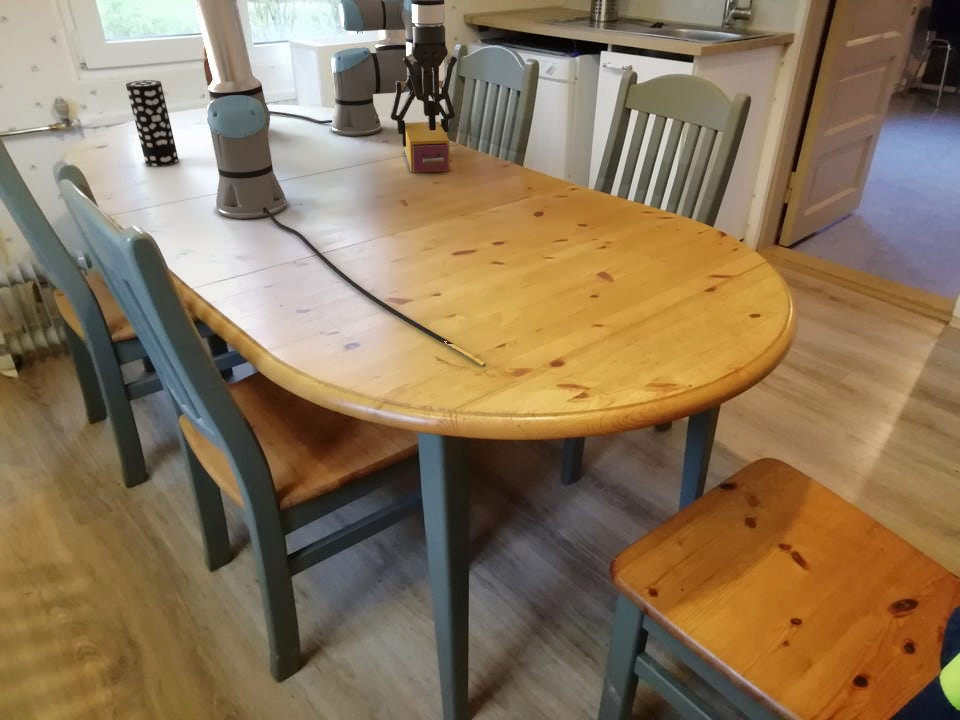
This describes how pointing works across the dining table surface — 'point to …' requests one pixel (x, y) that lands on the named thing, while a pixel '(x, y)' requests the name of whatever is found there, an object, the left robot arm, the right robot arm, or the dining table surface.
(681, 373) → the dining table surface
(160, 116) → the black white spotted cylinder
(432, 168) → the drawer
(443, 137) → the cabinet
